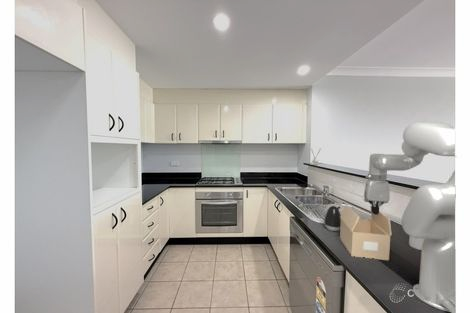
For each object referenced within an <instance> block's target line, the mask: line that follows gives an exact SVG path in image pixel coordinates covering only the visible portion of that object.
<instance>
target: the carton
mask: <svg viewBox="0 0 470 313" xmlns="http://www.w3.org/2000/svg"><path fill="white" fill-rule="evenodd" d="M339 232H340V233H339V239H340V240H341V242H342V244H343V245H344V247H345V249H346V250H347V252H348V253H349V255H350V254H351V255H350V256H351V257H354V256H355V257H356V258H363V257H365V259H372V258H374V260H382V261H389V260H390V247H391V235H389V234H388V233H387V232H386V231H384V230H383V229H382V228H381V227H380V226H378V225H377V224H376V223H375V222H373V221H372V219H371V220H369V219H359V220H358V222H357V224H356V226H355V228H354V230H353V232H352V231H351V230H350V229H349V228H348V227H347V225H346V224H345V223H344V222H343V221H342V219H341V226H340V230H339Z"/></svg>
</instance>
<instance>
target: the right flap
mask: <svg viewBox="0 0 470 313" xmlns="http://www.w3.org/2000/svg"><path fill="white" fill-rule="evenodd" d="M371 208H372V205H370V209H371ZM370 214H371V221H373V222H374V223H375V224H377V225H378V226H379V227H380V228H381V229H383V230H384V231H385V232H386V233H387V234H389V235H390V236H392V227H391V219H390V217H388V216H387V215H385V214H384V213H383V212H381V211H380V210H379V212H378V215H377V214H373V213H372V211H371V210H370Z"/></svg>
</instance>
